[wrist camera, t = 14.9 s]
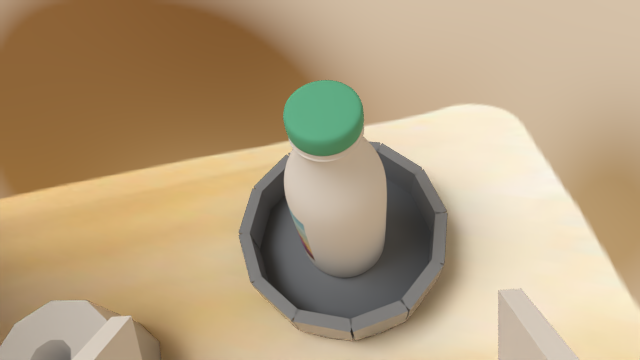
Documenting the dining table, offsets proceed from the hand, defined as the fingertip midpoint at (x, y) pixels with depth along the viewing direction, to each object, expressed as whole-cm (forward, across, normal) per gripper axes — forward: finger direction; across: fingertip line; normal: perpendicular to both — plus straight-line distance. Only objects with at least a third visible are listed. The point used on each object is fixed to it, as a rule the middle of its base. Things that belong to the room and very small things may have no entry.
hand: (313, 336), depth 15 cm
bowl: (+26, +1, -8) cm, 27 cm away
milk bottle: (+25, +1, -7) cm, 26 cm away
